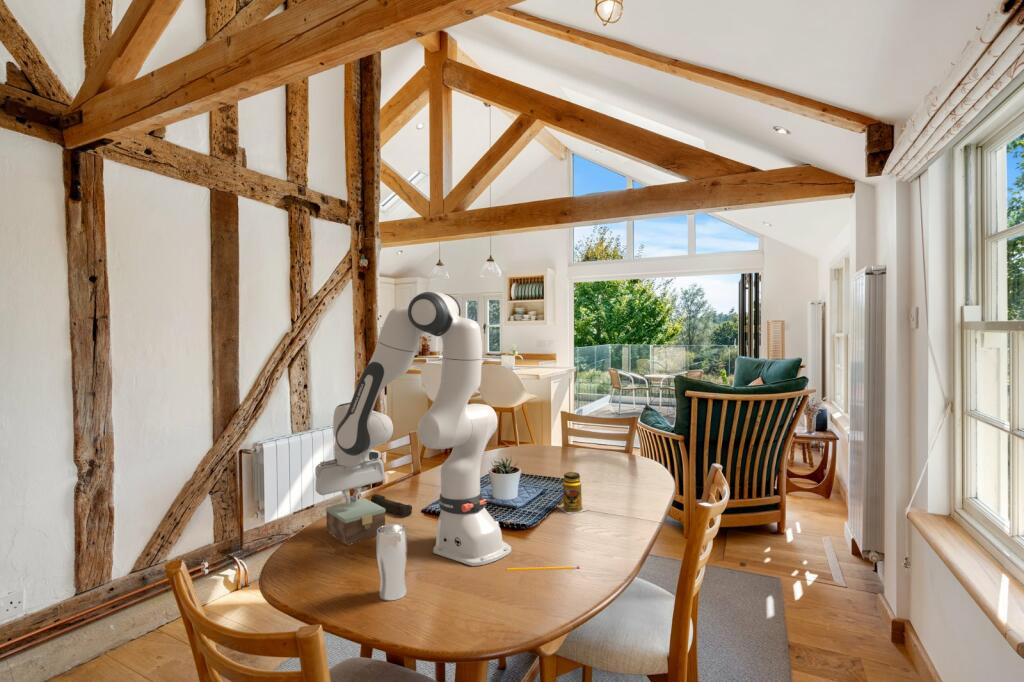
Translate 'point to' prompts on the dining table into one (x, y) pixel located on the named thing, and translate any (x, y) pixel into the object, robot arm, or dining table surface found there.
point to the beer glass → (392, 560)
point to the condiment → (572, 493)
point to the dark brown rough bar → (392, 505)
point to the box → (354, 528)
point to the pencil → (542, 568)
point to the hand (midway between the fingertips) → (351, 502)
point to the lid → (356, 511)
